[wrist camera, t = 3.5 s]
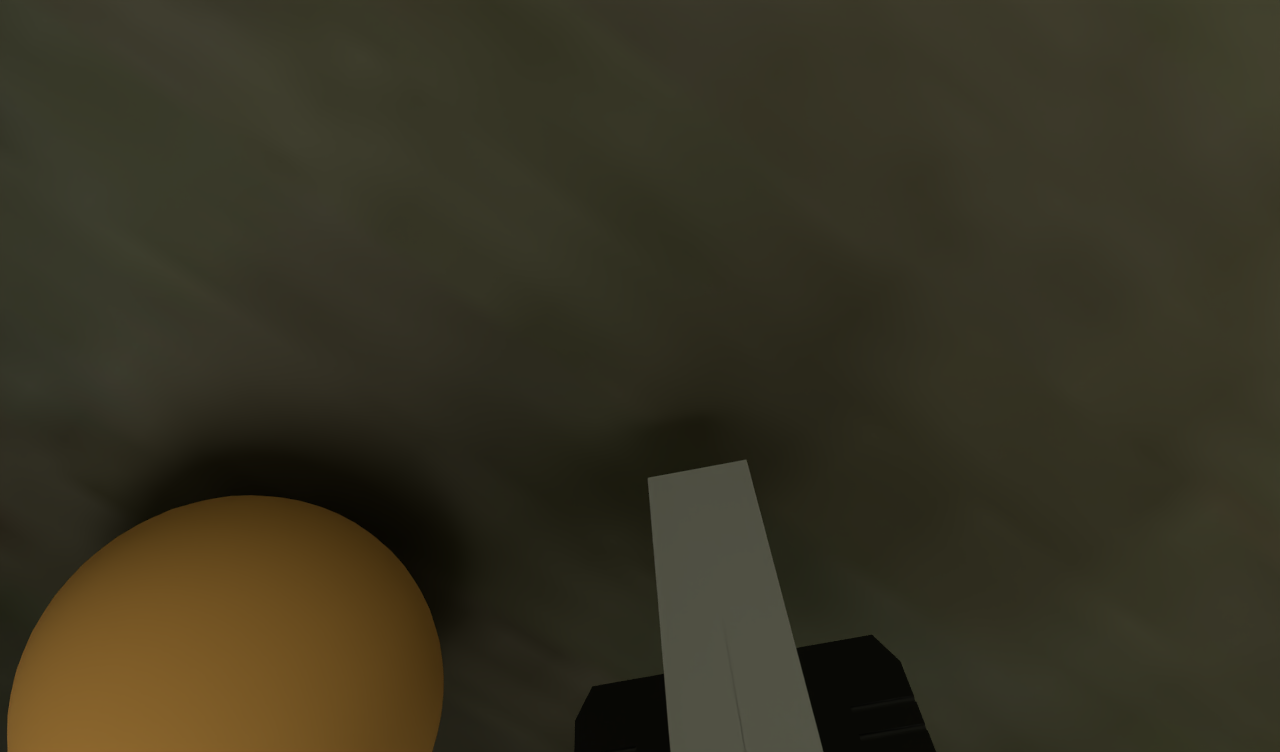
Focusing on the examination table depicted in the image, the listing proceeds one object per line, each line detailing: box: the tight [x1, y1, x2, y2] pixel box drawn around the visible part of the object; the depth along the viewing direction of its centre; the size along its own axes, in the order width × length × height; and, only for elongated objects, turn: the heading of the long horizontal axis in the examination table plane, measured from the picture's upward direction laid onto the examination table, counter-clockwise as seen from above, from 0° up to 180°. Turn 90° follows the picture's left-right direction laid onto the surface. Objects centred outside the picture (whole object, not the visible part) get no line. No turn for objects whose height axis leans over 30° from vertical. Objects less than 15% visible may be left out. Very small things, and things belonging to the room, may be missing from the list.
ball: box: [7, 495, 444, 752], centre depth 15 cm, size 6×6×6 cm
